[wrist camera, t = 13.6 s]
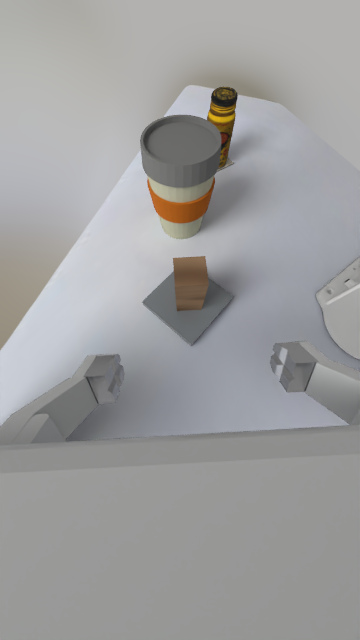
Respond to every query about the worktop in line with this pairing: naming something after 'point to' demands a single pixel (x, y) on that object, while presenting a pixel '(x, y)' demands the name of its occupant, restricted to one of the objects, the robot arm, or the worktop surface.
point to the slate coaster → (189, 321)
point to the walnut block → (190, 282)
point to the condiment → (223, 119)
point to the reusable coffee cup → (181, 170)
